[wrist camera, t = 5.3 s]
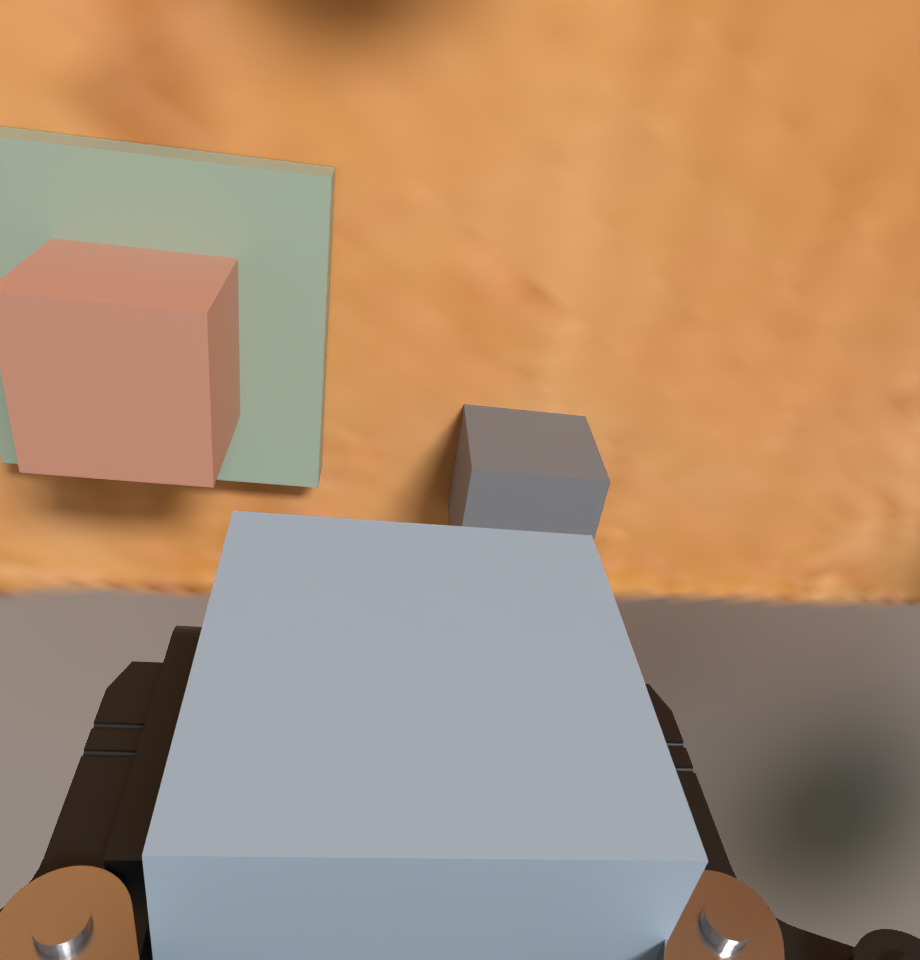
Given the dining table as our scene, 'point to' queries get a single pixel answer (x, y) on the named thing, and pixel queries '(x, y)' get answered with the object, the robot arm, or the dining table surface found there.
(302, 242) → the build plate
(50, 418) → the base brick
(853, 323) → the dining table surface
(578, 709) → the blue brick
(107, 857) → the robot arm
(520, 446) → the slate brick
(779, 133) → the dining table surface
